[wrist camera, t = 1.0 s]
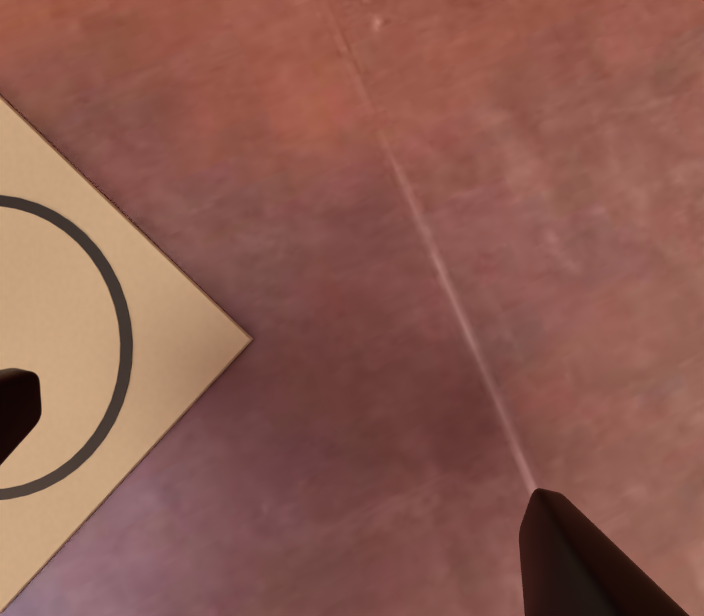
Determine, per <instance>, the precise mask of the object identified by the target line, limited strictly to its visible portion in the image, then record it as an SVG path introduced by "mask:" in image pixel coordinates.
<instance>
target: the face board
mask: <svg viewBox="0 0 704 616" xmlns="http://www.w3.org/2000/svg"><path fill="white" fill-rule="evenodd" d="M251 341H252V337H251V336H250V335H249V334H247V333H246V332H245V331H244V330H243V329H242V328H241V327H240V326H239V325H238V324H237V323H236V322H235V321H234V320H233V319H232V318H231V317H230V316H229V315H228V314H227V313H226V312H225V311H224V310H223V309H222V308H221V307H219V306H218V305H217V304H216V303H215V302H214V301H213V300H212V299H211V298H210V297H209V296H208V295H207V294H206V293H205V292H204V291H203V290H202V289H201V288H200V287H199V286H198V285H197V284H196V283H195V282H194V281H192V280H191V279H190V278H189V277H188V276H187V275H186V274H185V273H184V272H183V271H182V270H181V269H180V268H179V267H178V266H177V265H176V264H175V263H174V262H173V261H172V260H171V259H170V258H169V257H168V256H167V255H166V254H164V253H163V252H162V251H161V250H160V249H159V248H158V247H157V246H156V245H155V244H154V243H153V242H152V241H151V240H150V239H149V238H148V237H147V236H146V235H145V234H144V233H143V232H142V231H141V230H140V229H139V228H138V227H136V226H135V225H134V224H133V223H132V222H131V221H130V220H129V219H128V218H127V217H126V216H125V215H124V214H123V213H122V212H121V211H120V210H119V209H118V208H117V207H116V206H115V205H114V204H113V203H112V202H111V201H110V200H108V199H107V198H106V197H105V196H104V195H103V194H102V193H101V192H100V191H99V190H98V189H97V188H96V187H95V186H94V185H93V184H92V183H91V182H90V181H89V180H88V179H87V178H86V177H85V176H84V175H83V174H82V173H80V172H79V171H78V170H77V169H76V168H75V167H74V166H73V165H72V164H71V163H70V162H69V161H68V160H67V159H66V158H65V157H64V156H63V155H62V154H61V153H60V152H59V151H58V150H57V149H56V148H55V147H53V146H52V145H51V144H50V143H49V142H48V141H47V140H46V139H45V138H44V137H43V136H42V135H41V134H40V133H39V132H38V131H37V130H36V129H35V128H34V127H33V126H32V125H31V124H30V123H29V122H28V121H27V120H25V119H24V118H23V117H22V116H21V115H20V114H19V113H18V112H17V111H16V110H15V109H14V108H13V107H12V106H11V105H10V104H9V103H8V102H7V101H6V100H5V99H4V98H3V97H2V96H1V95H0V370H2V369H7V368H19V369H23V370H28V371H32V372H35V373H36V374H37V375H38V377H39V379H40V390H41V405H42V413H41V417H40V420H39V422H38V423H37V425H36V426H35V427H34V428H33V429H32V431H31V432H30V433H29V434H28V435H27V436H26V437H25V438H24V440H23V441H22V442H21V443H20V444H19V445H18V446H17V447H16V449H15V450H14V451H13V452H12V453H11V454H10V455H9V456H8V458H7V459H6V460H5V461H4V462H3V463H2V464H1V466H0V613H2V612H3V611H4V610H5V609H6V607H7V606H8V605H9V604H10V603H11V602H12V601H13V600H14V599H15V598H16V597H17V595H18V594H19V593H20V592H21V591H22V590H23V589H24V588H25V587H26V586H27V585H28V583H29V582H30V581H31V580H32V579H33V578H34V577H35V576H36V575H37V574H38V573H39V572H40V570H41V569H42V568H43V567H44V566H45V565H46V564H47V563H48V562H49V561H50V560H51V558H52V557H53V556H54V555H55V554H56V553H57V552H58V551H59V550H60V549H61V548H62V546H63V545H64V544H65V543H66V542H67V541H68V540H69V539H70V538H71V537H72V536H73V535H74V533H75V532H76V531H77V530H78V529H79V528H80V527H81V526H82V525H83V524H84V523H85V521H86V520H87V519H88V518H89V517H90V516H91V515H92V514H93V513H94V512H95V511H96V509H97V508H98V507H99V506H100V505H101V504H102V503H103V502H104V501H105V500H106V499H107V498H108V496H109V495H110V494H111V493H112V492H113V491H114V490H115V489H116V488H117V487H118V486H119V484H120V483H121V482H122V481H123V480H124V479H125V478H126V477H127V476H128V475H129V474H130V472H131V471H132V470H133V469H134V468H135V467H136V466H137V465H138V464H139V463H140V462H141V461H142V459H143V458H144V457H145V456H146V455H147V454H148V453H149V452H150V451H151V450H152V449H153V447H154V446H155V445H156V444H157V443H158V442H159V441H160V440H161V439H162V438H163V437H164V435H165V434H166V433H167V432H168V431H169V430H170V429H171V428H172V427H173V426H174V425H175V424H176V422H177V421H178V420H179V419H180V418H181V417H182V416H183V415H184V414H185V413H186V412H187V410H188V409H189V408H190V407H191V406H192V405H193V404H194V403H195V402H196V401H197V400H198V398H199V397H200V396H201V395H202V394H203V393H204V392H205V391H206V390H207V389H208V388H209V387H210V385H211V384H212V383H213V382H214V381H215V380H216V379H217V378H218V377H219V376H220V375H221V373H222V372H223V371H224V370H225V369H226V368H227V367H228V366H229V365H230V364H231V363H232V361H233V360H234V359H235V358H236V357H237V356H238V355H239V354H240V353H241V352H242V351H243V350H244V348H245V347H246V346H247V345H248V344H249V343H250V342H251Z"/></svg>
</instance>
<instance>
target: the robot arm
mask: <svg viewBox="0 0 704 616" xmlns="http://www.w3.org/2000/svg"><path fill="white" fill-rule="evenodd" d="M41 413H42V405H41V390H40V379H39V377H38V375H37V374H36V373H35V372H32V371H28V370H23V369H19V368H7V369H2V370H0V466H1V464H2V463H3V462H4V461H5V460H6V459H7V458H8V456H9V455H10V454H11V453H12V452H13V451H14V450H15V449H16V447H17V446H18V445H19V444H20V443H21V442H22V441H23V440H24V438H25V437H26V436H27V435H28V434H29V433H30V432H31V431H32V429H33V428H34V427H35V426H36V425H37V423H38V422H39V420H40V417H41ZM519 548H520V560H521V573H522V586H523V598H524V611H525V616H689V615H688V614H687V613H686V612H685V611H684V610H683V609H682V608H681V607H680V606H679V605H678V604H677V603H676V602H675V601H674V600H672V599H671V598H670V597H669V596H668V595H667V594H666V593H665V592H664V591H663V590H662V589H661V588H660V587H659V586H658V585H657V584H656V583H655V582H654V581H653V580H652V579H651V578H649V577H648V576H647V575H646V574H645V573H644V572H643V571H642V570H641V569H640V568H639V567H638V566H637V565H636V564H635V563H634V562H633V561H632V560H631V559H630V558H629V557H628V556H627V555H625V554H624V553H623V552H622V551H621V550H620V549H619V548H618V547H617V546H616V545H615V544H614V543H613V542H612V541H611V540H610V539H609V538H608V537H607V536H606V535H605V534H604V533H603V532H601V531H600V530H599V529H598V528H597V527H596V526H595V525H594V524H593V523H592V522H591V521H590V520H589V519H588V518H587V517H586V516H585V515H584V514H583V513H582V512H581V511H580V510H579V509H577V508H576V507H575V506H574V505H573V504H572V503H571V502H570V501H569V500H568V499H567V498H566V497H565V496H564V495H563V494H561V493H558V492H554V491H550V490H545V489H541V488H538V489H536V490H534V492H533V493H532V495H531V498H530V501H529V504H528V506H527V509H526V512H525V515H524V518H523V520H522V523H521V526H520V531H519Z"/></svg>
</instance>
